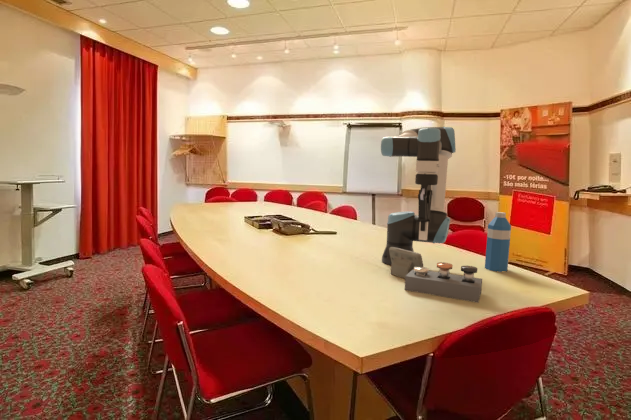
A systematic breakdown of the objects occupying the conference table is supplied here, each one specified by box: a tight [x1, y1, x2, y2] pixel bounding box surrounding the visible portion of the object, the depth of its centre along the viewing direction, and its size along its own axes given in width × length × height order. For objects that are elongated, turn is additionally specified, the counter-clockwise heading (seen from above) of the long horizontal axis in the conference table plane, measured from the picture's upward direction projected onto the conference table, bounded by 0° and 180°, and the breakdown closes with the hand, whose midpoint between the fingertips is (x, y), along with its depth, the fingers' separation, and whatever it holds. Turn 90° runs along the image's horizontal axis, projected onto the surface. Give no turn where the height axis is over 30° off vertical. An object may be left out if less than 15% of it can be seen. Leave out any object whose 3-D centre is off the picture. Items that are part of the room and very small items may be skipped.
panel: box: [404, 269, 483, 303], centre depth 134 cm, size 24×12×5 cm, turn 62°
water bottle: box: [484, 211, 512, 273], centre depth 167 cm, size 9×9×25 cm
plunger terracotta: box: [436, 261, 454, 279], centre depth 134 cm, size 5×5×5 cm
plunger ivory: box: [413, 266, 430, 276], centre depth 138 cm, size 5×5×5 cm
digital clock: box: [389, 247, 425, 279], centre depth 153 cm, size 16×9×11 cm, turn 24°
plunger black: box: [460, 265, 479, 283], centre depth 130 cm, size 5×5×5 cm
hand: (422, 239), depth 136 cm, fingers closed
